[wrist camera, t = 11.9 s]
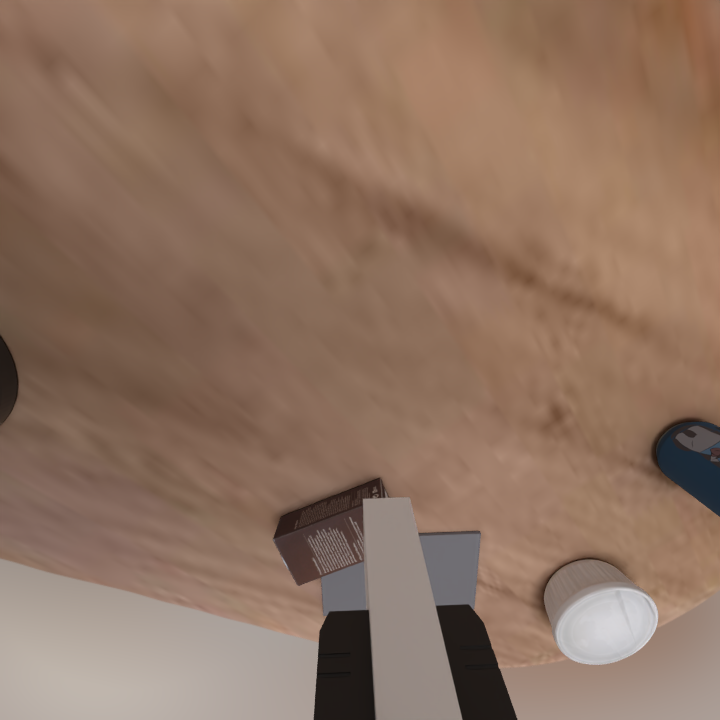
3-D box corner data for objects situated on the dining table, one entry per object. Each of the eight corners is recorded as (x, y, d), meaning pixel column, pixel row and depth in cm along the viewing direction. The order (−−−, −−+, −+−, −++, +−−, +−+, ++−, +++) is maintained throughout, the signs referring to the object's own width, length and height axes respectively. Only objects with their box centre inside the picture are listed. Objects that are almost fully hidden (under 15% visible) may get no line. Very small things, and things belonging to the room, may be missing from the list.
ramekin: (647, 574, 49) (681, 613, 44) (585, 635, 51) (611, 679, 46) (576, 535, 47) (604, 572, 42) (516, 601, 49) (535, 643, 44)
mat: (323, 612, 49) (323, 615, 48) (319, 537, 45) (318, 539, 45) (473, 606, 49) (474, 609, 49) (479, 531, 46) (480, 533, 45)
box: (381, 475, 44) (279, 515, 44) (384, 497, 39) (270, 541, 40) (402, 521, 45) (302, 559, 46) (407, 549, 40) (296, 590, 41)
